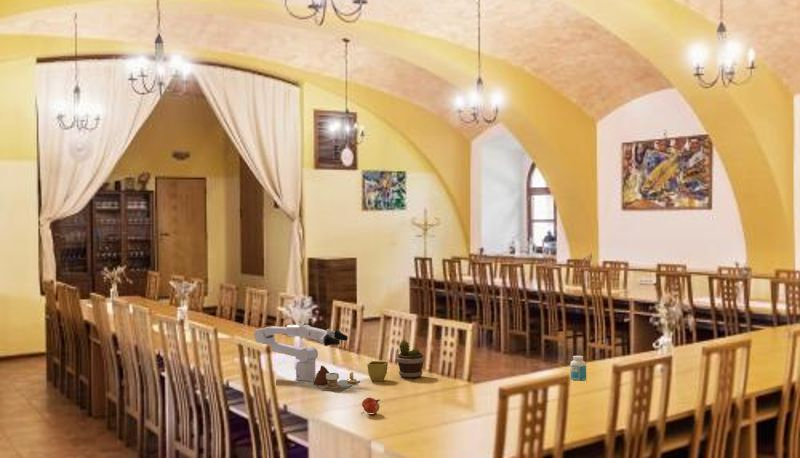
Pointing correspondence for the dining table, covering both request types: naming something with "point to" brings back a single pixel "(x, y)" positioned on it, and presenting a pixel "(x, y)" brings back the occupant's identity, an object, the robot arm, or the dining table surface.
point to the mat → (341, 386)
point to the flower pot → (377, 370)
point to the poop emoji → (321, 377)
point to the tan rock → (332, 384)
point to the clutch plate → (332, 376)
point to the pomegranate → (370, 405)
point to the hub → (351, 379)
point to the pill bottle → (578, 369)
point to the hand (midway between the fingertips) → (343, 340)
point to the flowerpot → (409, 361)
